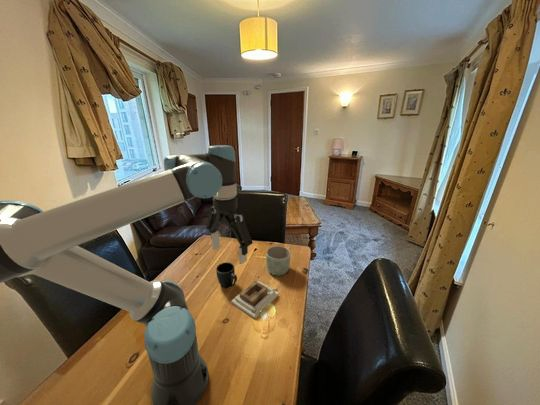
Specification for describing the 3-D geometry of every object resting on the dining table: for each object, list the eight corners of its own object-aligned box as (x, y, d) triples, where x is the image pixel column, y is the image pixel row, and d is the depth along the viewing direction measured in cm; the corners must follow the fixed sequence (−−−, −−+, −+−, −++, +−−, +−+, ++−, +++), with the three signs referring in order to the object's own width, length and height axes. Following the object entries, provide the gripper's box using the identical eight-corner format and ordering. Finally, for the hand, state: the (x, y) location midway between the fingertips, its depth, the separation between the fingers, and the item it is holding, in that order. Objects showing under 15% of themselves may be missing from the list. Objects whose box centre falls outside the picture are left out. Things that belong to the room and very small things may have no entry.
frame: (252, 308, 87) (252, 301, 86) (240, 300, 91) (239, 293, 90) (267, 294, 94) (267, 287, 93) (255, 287, 98) (255, 281, 97)
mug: (228, 298, 94) (227, 280, 91) (214, 284, 102) (212, 267, 99) (243, 288, 99) (242, 271, 96) (229, 276, 107) (227, 260, 104)
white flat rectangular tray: (254, 318, 84) (254, 313, 83) (231, 302, 91) (231, 297, 90) (278, 294, 96) (278, 290, 95) (256, 282, 103) (256, 278, 102)
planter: (290, 264, 117) (291, 247, 113) (288, 279, 105) (289, 260, 102) (268, 262, 119) (268, 244, 115) (263, 276, 107) (263, 257, 104)
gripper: (263, 201, 63) (263, 263, 70) (209, 187, 77) (214, 239, 84) (245, 208, 57) (247, 274, 64) (191, 192, 72) (198, 247, 79)
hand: (229, 255), depth 74 cm, fingers open, 13 cm apart
